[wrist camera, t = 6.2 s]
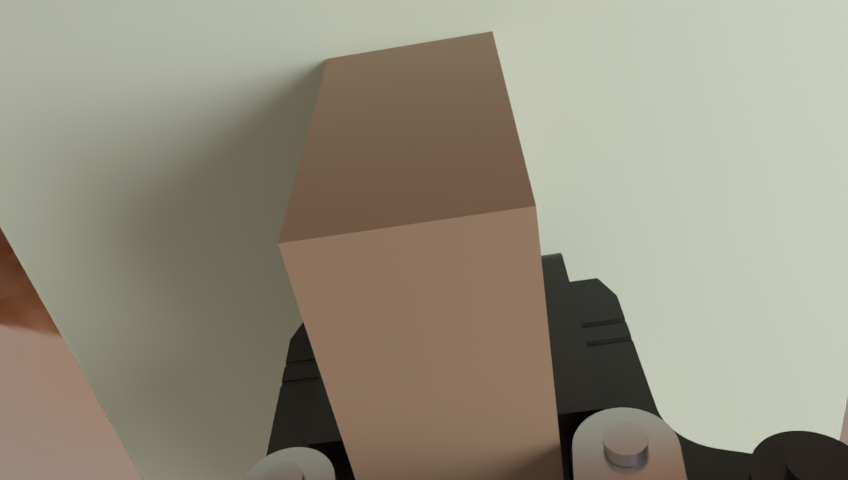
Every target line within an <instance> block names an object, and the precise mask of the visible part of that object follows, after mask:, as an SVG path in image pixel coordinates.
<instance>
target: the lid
mask: <svg viewBox="0 0 848 480" xmlns="http://www.w3.org/2000/svg"><path fill="white" fill-rule="evenodd" d="M0 228H1V229H2V231H3V233H4V235H5V237H6V238H7V240H8V242H9V244H10V245H11V247H12V249H13V251H14V253H15V254H16V256H17V258H18V260H19V261H20V263H21V265H22V267H23V268H24V270H25V272H26V274H27V276H28V277H29V279H30V281H31V283H32V284H33V286H34V288H35V290H36V291H37V293H38V295H39V297H40V299H41V300H42V302H43V304H44V306H45V307H46V309H47V311H48V313H49V314H50V316H51V318H52V320H53V322H54V323H55V325H56V327H57V329H58V330H59V332H60V334H61V336H62V337H63V339H64V341H65V343H66V345H67V346H68V348H69V350H70V352H71V353H72V355H73V357H74V359H75V360H76V362H77V364H78V366H79V367H80V369H81V371H82V373H83V374H84V376H85V378H86V380H87V382H88V383H89V385H90V387H91V389H92V391H93V392H94V394H95V396H96V398H97V399H98V401H99V403H100V405H101V406H102V408H103V410H104V412H105V413H106V415H107V417H108V419H109V421H110V422H111V424H112V426H113V428H114V429H115V431H116V433H117V435H118V437H119V438H120V440H121V442H122V444H123V445H124V447H125V449H126V451H127V453H128V454H129V456H130V458H131V460H132V461H133V463H134V465H135V467H136V468H137V470H138V472H139V474H140V475H141V477H142V479H143V480H242V479H243V477H244V476H245V475H246V473H247V472H248V471H249V470H250V469H251V468H252V467H253V466H254V465H255V464H256V463H257V462H259V461H260V460H261V459H263V458H264V457H266V455H267V450H268V445H269V440H270V435H271V431H272V426H273V421H274V416H275V411H276V406H277V402H278V397H279V392H280V387H281V386H282V377H283V372H284V368H285V367H286V358H287V353H288V348H289V343H290V339H291V338H292V337H293V335H294V334H295V332H296V331H297V330H298V328H299V327H300V326H301V324H302V323H303V322H304V325H305V328H306V331H307V334H308V337H309V340H310V343H311V347H312V350H313V353H314V356H315V359H316V362H317V365H318V368H319V371H320V374H321V377H322V380H323V383H324V386H325V389H326V392H327V395H328V398H329V401H330V404H331V407H332V410H333V413H334V416H335V419H336V422H337V425H338V428H339V431H340V434H341V437H342V440H343V443H344V446H345V449H346V452H347V455H348V458H349V461H350V464H351V467H352V471H353V474H354V477H355V480H564V477H563V467H562V457H561V447H560V437H559V427H558V417H557V408H556V398H555V388H554V378H553V368H552V358H551V348H550V339H549V329H548V319H547V309H546V299H545V289H544V279H543V269H542V260H541V256H542V255H549V254H556V253H561V254H562V256H563V260H564V263H565V267H566V271H567V274H568V278H569V281H570V282H572V281H579V280H587V279H594V278H598V279H599V280H600V281H601V282H602V283H604V284H605V285H606V286H607V287H608V288H609V289H610V290H611V291H612V292H613V293H615V294H616V295H617V297H618V300H619V303H620V306H621V308H622V311H623V314H624V317H625V322H626V323H627V325H628V328H629V331H630V334H631V338H632V341H633V342H634V345H635V348H636V351H637V354H638V357H639V359H640V362H641V365H642V368H643V371H644V374H645V376H646V379H647V382H648V385H649V388H650V390H651V393H652V396H653V399H654V402H655V405H656V407H657V410H658V412H659V414H660V416H661V417H662V418H663V420H664V421H665V422H666V423H667V424H668V425H669V426H670V427H671V428H672V429H673V430H674V431H675V432H677V433H678V434H680V435H681V436H683V437H685V438H686V439H688V440H691V441H693V442H695V443H698V444H701V445H704V446H707V447H712V448H717V449H724V450H730V451H737V452H744V453H751V454H752V453H753V451H754V449H755V448H756V447H757V446H758V444H759V443H760V442H762V441H763V440H764V439H766V438H768V437H770V436H772V435H774V434H777V433H781V432H786V431H809V432H815V433H819V434H824V435H826V436H829V437H832V438H834V439H837V440H839V438H840V434H841V429H842V423H843V418H844V413H845V408H846V402H847V398H848V0H0Z"/></svg>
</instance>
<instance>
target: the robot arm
mask: <svg viewBox="0 0 848 480" xmlns="http://www.w3.org/2000/svg"><path fill="white" fill-rule="evenodd" d="M541 260H542V269H543V279H544V289H545V299H546V309H547V319H548V329H549V339H550V348H551V358H552V368H553V378H554V388H555V398H556V408H557V417H558V427H559V437H560V447H561V457H562V467H563V477H564V480H848V446H847V445H845V444H844V443H843V442H841V441H839V440H837V439H834V438H832V437H829V436H826V435H824V434H819V433H815V432H809V431H786V432H781V433H777V434H774V435H772V436H770V437H768V438H766V439H764V440H763V441H762V442H760V443H759V444H758V446H757V447H756V448H755V449H754V451H753V453H752V454H751V453H744V452H737V451H730V450H724V449H717V448H712V447H707V446H704V445H701V444H698V443H695V442H693V441H691V440H688V439H686V438H685V437H683V436H681V435H680V434H678V433H677V432H675V431H674V430H673V429H672V428H671V427H670V426H669V425H668V424H667V423H666V422H665V421H664V420H663V418H662V417H661V416H660V414H659V412H658V410H657V407H656V405H655V402H654V399H653V396H652V393H651V390H650V388H649V385H648V382H647V379H646V376H645V374H644V371H643V368H642V365H641V362H640V359H639V357H638V354H637V351H636V348H635V345H634V342H633V341H632V338H631V334H630V331H629V328H628V325H627V323H626V322H625V317H624V314H623V311H622V308H621V306H620V303H619V300H618V297H617V295H616V294H615V293H613V292H612V291H611V290H610V289H609V288H608V287H607V286H606V285H605V284H604V283H602V282H601V281H600V280H599V279H598V278H594V279H587V280H579V281H572V282H570V281H569V278H568V274H567V271H566V267H565V263H564V260H563V256H562V254H561V253H556V254H549V255H542V256H541ZM242 480H355V477H354V474H353V471H352V467H351V464H350V461H349V458H348V455H347V452H346V449H345V446H344V443H343V440H342V437H341V434H340V431H339V428H338V425H337V422H336V419H335V416H334V413H333V410H332V407H331V404H330V401H329V398H328V395H327V392H326V389H325V386H324V383H323V380H322V377H321V374H320V371H319V368H318V365H317V362H316V359H315V356H314V353H313V350H312V347H311V343H310V340H309V337H308V334H307V331H306V328H305V325H304V322H303V323H302V324H301V326H300V327H299V328H298V330H297V331H296V332H295V334H294V335H293V337H292V338H291V339H290V343H289V348H288V353H287V358H286V367H285V368H284V372H283V377H282V386H281V387H280V392H279V397H278V402H277V406H276V411H275V416H274V421H273V426H272V431H271V435H270V440H269V445H268V450H267V455H266V457H264V458H263V459H261V460H260V461H259V462H257V463H256V464H255V465H254V466H253V467H252V468H251V469H250V470H249V471H248V472H247V473H246V475H245V476H244V477H243V479H242Z"/></svg>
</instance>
